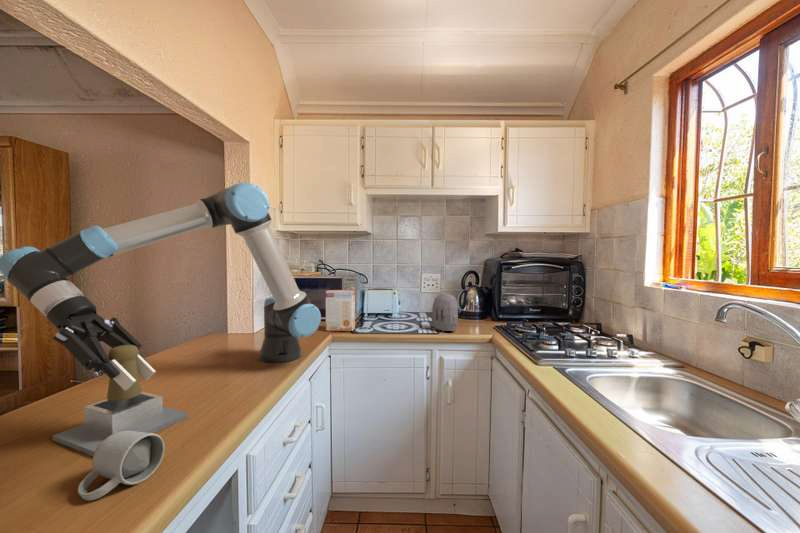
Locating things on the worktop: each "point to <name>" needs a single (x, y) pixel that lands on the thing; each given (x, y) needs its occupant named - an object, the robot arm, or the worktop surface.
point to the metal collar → (123, 414)
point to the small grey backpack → (445, 312)
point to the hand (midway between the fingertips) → (141, 380)
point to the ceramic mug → (123, 461)
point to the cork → (128, 361)
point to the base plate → (90, 441)
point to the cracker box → (340, 310)
